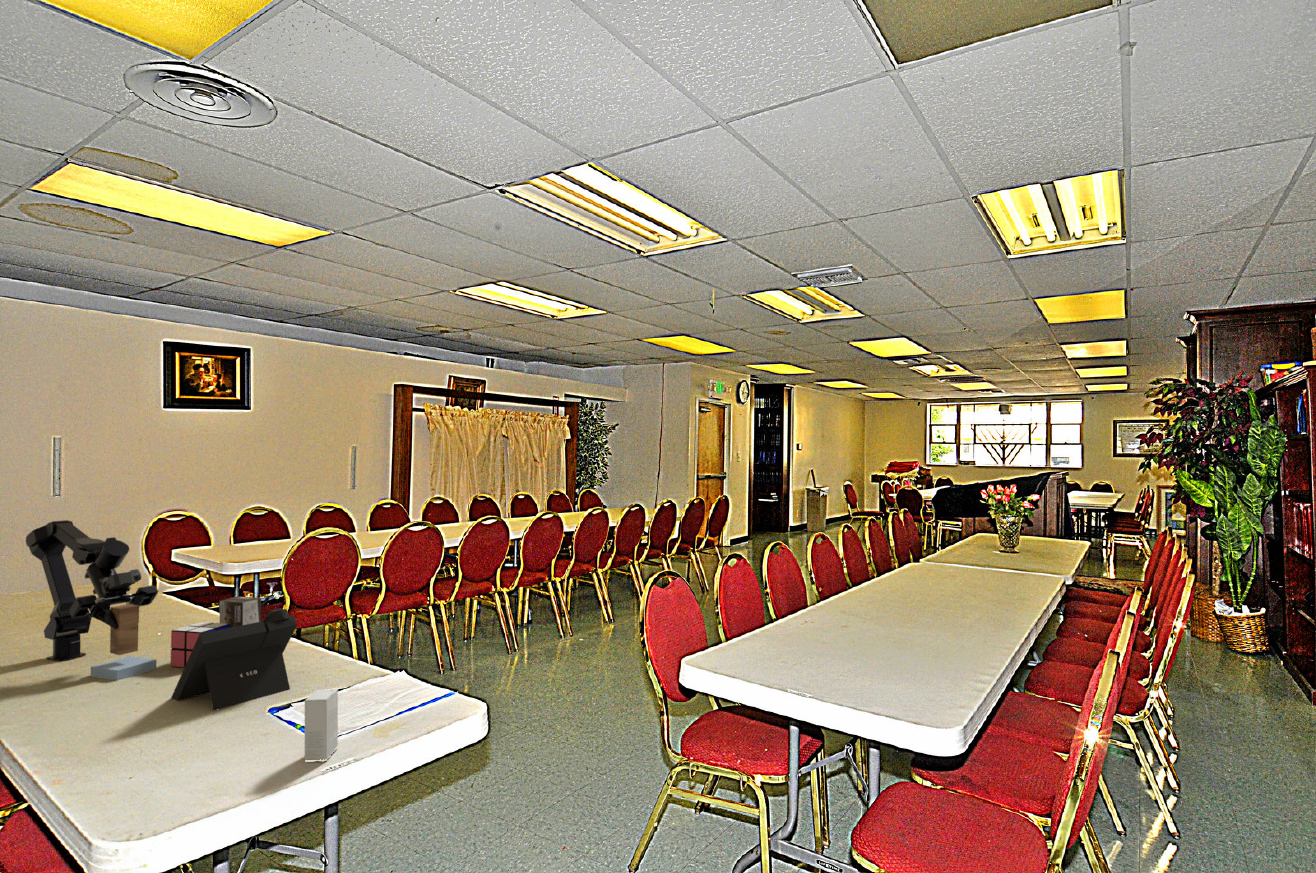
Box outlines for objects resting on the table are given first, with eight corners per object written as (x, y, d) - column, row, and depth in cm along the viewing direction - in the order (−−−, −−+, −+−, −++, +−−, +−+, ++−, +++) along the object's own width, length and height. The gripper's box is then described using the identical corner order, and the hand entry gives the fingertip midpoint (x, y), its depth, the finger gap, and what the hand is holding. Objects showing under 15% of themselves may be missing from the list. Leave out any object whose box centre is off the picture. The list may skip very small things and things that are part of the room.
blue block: (90, 677, 184) (90, 666, 184) (130, 666, 193) (130, 655, 193) (117, 682, 180) (117, 670, 181) (156, 670, 190) (156, 659, 190)
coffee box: (261, 653, 204) (262, 597, 205) (242, 659, 198) (242, 602, 199) (238, 650, 207) (238, 595, 208) (218, 656, 201) (218, 599, 202)
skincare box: (315, 749, 140) (316, 688, 140) (338, 748, 140) (338, 688, 140) (303, 763, 134) (303, 699, 134) (326, 762, 134) (327, 699, 134)
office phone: (272, 660, 199) (273, 588, 199) (328, 680, 182) (329, 601, 183) (151, 689, 174) (152, 608, 175) (203, 715, 158) (204, 624, 159)
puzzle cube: (200, 669, 190) (201, 632, 190) (169, 667, 192) (170, 630, 192) (230, 658, 200) (230, 623, 200) (200, 656, 202) (200, 621, 202)
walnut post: (110, 652, 186) (110, 607, 186) (128, 648, 190) (129, 603, 190) (119, 655, 184) (120, 608, 184) (137, 650, 188) (138, 605, 188)
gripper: (76, 566, 181) (98, 614, 176) (155, 556, 197) (177, 599, 192) (59, 593, 184) (81, 641, 179) (138, 581, 201) (160, 625, 196)
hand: (127, 625), depth 186 cm, fingers closed on walnut post, 4 cm apart
